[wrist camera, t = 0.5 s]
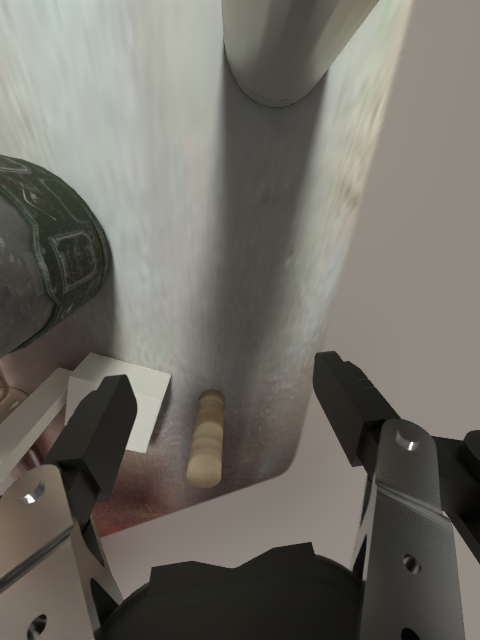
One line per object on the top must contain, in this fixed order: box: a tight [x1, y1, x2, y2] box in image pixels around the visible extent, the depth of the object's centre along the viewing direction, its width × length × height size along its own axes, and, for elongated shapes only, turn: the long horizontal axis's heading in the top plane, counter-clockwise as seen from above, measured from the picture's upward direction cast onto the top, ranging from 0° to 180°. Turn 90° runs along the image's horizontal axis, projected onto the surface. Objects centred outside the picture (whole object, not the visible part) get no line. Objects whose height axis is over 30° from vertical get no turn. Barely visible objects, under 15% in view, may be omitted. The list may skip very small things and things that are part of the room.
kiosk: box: [0, 352, 171, 484], centre depth 26 cm, size 14×16×26 cm
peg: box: [186, 390, 225, 488], centre depth 33 cm, size 4×4×12 cm
